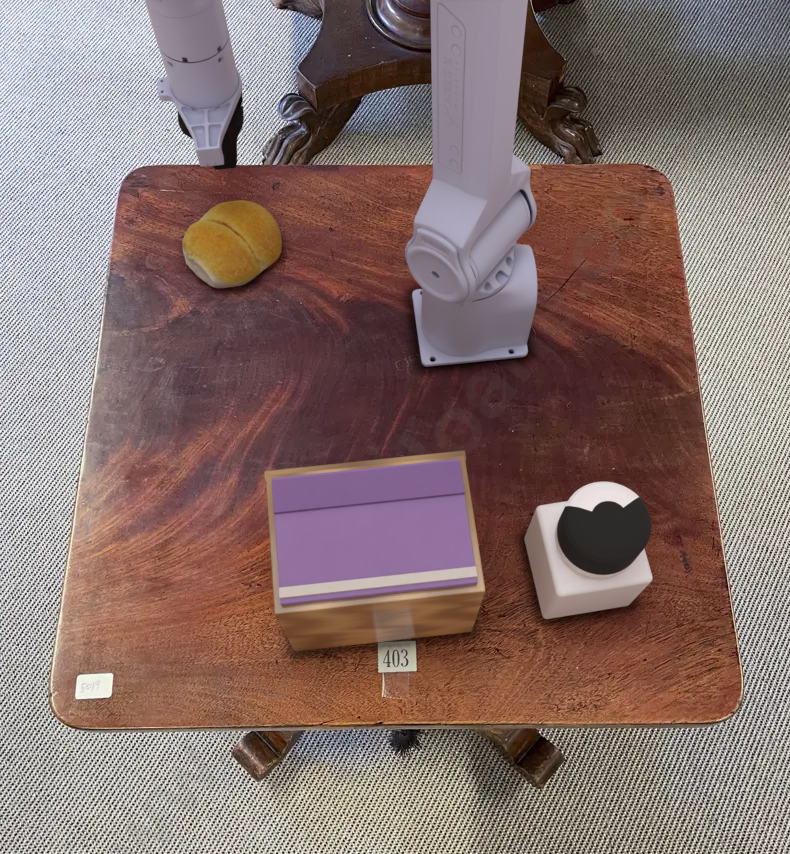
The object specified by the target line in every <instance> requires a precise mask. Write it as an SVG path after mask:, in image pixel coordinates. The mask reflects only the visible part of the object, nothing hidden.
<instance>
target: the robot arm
mask: <svg viewBox="0 0 790 854" xmlns="http://www.w3.org/2000/svg"><path fill="white" fill-rule="evenodd" d="M429 1H430V50H431V51H430V60H431V61H430V64H431V66H430V67H431V68H430V69H431V73H430V74H431V142H432V143H431V144H432V145H431V146H432V147H431V148H432V149H431V151H432V179H431V182H430V184H429V186H428V188H427V190H426V192H425V195H424V197H423V199H422V200H421V203H420V205H419V208H418V210H417V212H416V214H415V216H414V219H413V234H412V237H411V238H410V239H409V240H408V242H407V243H406V245H405V249H404V257H405V261H406V265H407V267H408V270H409V272H410V274H411V276H412V278H413V279H414V280H415V282H416V283H417V284H418V285H419V286H420V287H421V288H417V289H414V290H413V291H412V292H411V293H412V294H411V299H412V306H413V312H414V321H415V327H416V333H417V341H418V347H419V348H418V349H419V354H420V355H419V356H420V363H421V365H422V366H423V367H425V368H429V367H438V366H449V365H458V364H468V363H469V364H470V363H479V362H487V361H489V362H490V361H499V360H509V359H520V358H524V357H526V356H528V352H529V349H528V340H529V337H530V332H531V330H532V329H531V328H532V325H533V321H534V316H535V313H536V309H537V303H538V271H537V265H536V260H535V255H534V251H533V248H532V247H531V245H530V244H522V243H517V241H518V240H519V239H520V238H521V237H522V235H523V234H524V233H526V232H528V231H529V230H530V229H531V228H532V226H533V225H534V224H535V222H536V219H537V214H538V212H537V211H538V210H537V204H536V200H535V196H534V194H533V192H532V189H531V188H532V187H531V172H532V168H531V167H530V166H529V165H528V164H527V163H526V162H524V161H523V160H522V159H521V158H519V157H518V156H516V155H515V154H514V145H515V135H516V124H517V115H518V107H519V106H518V105H519V95H520V94H519V93H520V86H521V85H520V84H521V76H522V75H521V74H522V64H523V54H524V43H525V34H526V33H525V32H526V23H527V13H528V5H529V4H528V2H529V0H429ZM144 3H145V7H146V9H147V13H148V17H149V20H150V24H151V27H152V30H153V33H154V36H155V40H156V43H157V46H158V51H159V53H160V56H161V59H162V63H163V66H164V70H165V73H166V76H164V77H160V78H159V79H157V81H156V82H157V84H156V85H157V87H156V88H157V89H156V90H157V91H156V92H157V95H158V99H159V100H160V101H161V102H171V103H173V105H174V106H175V108H176V111H177V122H178V126H179V129H180V130H181V133H182V134H183V135H185V136H186V137H189V138H190V139H191V140H193V142H194V151H195V153H196V158H197V161H198V164H199V167H200V168H202V167H213V169H214V170H216V171H219V170H229V169H230V170H231V169H236V168H237V166H238V139H239V135H240V133H241V131H242V130H243V126H244V121H245V115H244V105H243V103H244V100H243V99H244V98H243V82H242V77H241V74H240V72H239V70H238V68H237V64H236V61H235V56H234V51H233V46H232V41H231V37H230V32H229V26H228V22H227V18H226V13H225V7H224V3H223V0H144ZM510 352H512V353H510ZM431 360H434V361H431Z"/></svg>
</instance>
